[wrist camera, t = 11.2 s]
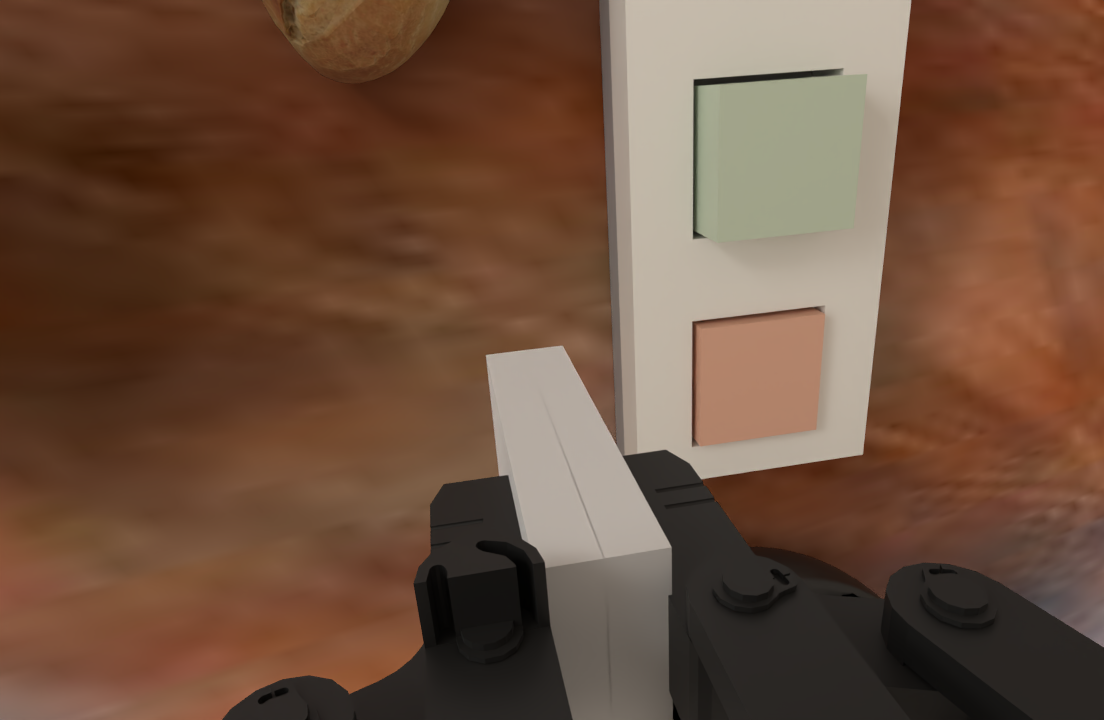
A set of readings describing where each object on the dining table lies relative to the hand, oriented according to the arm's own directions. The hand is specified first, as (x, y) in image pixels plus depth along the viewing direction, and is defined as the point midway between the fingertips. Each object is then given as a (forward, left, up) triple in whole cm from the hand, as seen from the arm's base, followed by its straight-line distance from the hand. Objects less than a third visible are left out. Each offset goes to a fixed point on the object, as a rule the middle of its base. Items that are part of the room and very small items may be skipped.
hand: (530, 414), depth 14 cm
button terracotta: (+15, -10, -24) cm, 30 cm away
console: (+15, +2, -26) cm, 30 cm away
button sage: (+15, +2, -22) cm, 27 cm away
